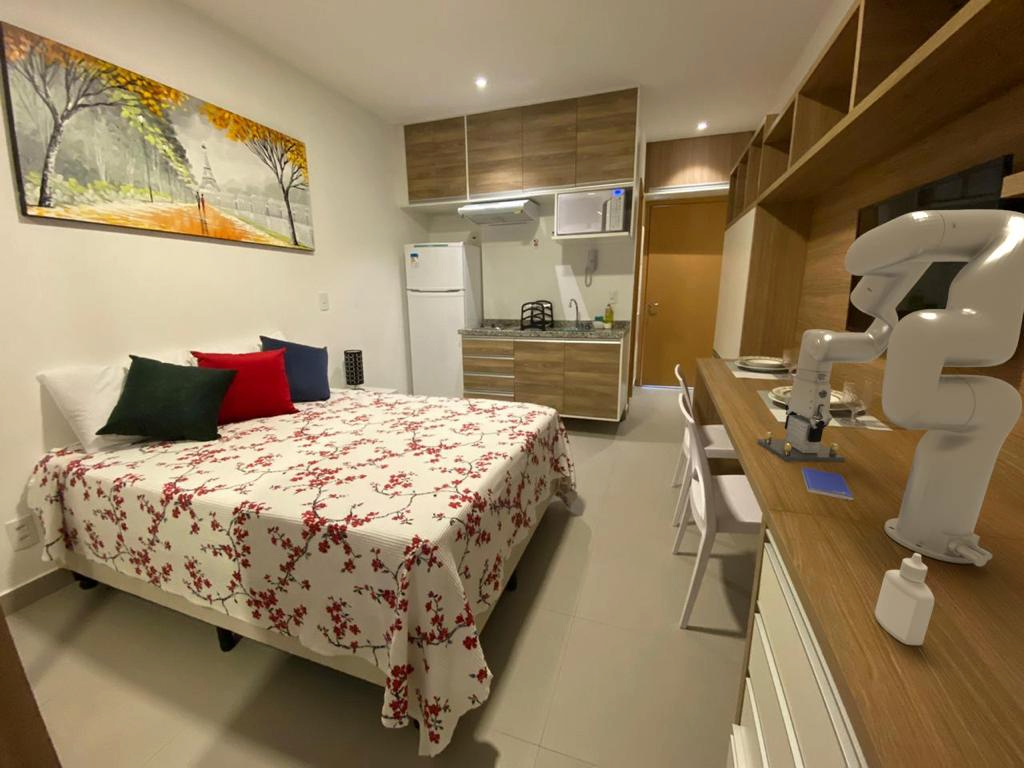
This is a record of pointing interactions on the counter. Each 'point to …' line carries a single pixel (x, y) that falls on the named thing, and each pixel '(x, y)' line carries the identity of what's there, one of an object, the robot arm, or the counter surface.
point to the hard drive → (826, 483)
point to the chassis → (792, 454)
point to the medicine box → (800, 434)
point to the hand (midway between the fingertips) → (801, 435)
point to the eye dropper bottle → (906, 602)
